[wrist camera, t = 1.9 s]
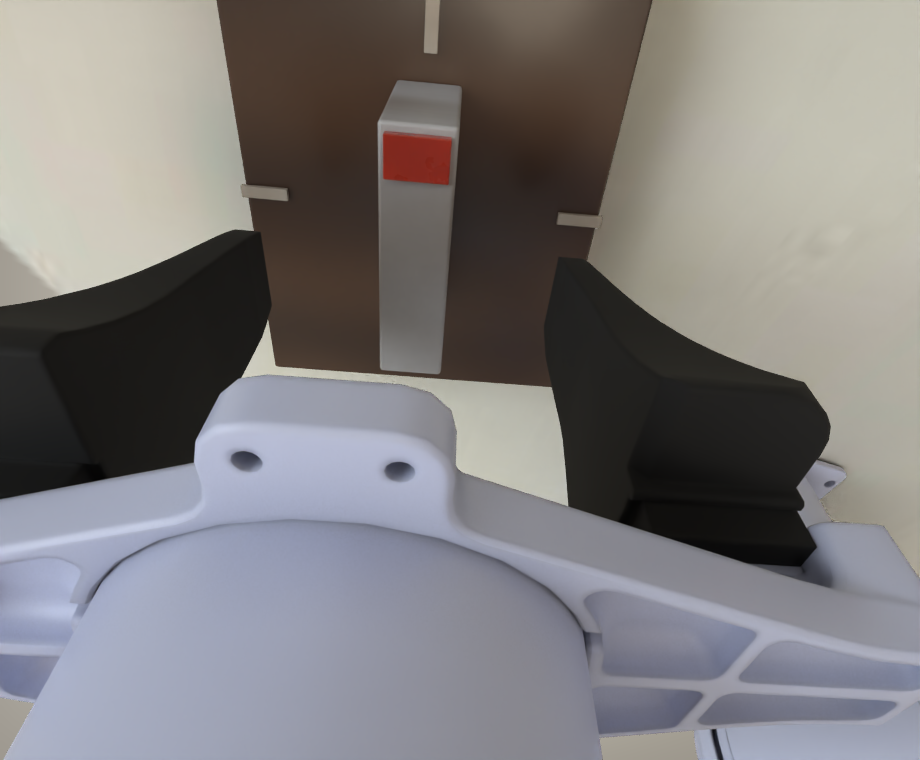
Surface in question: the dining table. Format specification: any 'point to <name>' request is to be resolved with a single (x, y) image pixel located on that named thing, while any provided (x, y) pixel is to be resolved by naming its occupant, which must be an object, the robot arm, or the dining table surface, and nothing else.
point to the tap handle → (416, 221)
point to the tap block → (478, 163)
